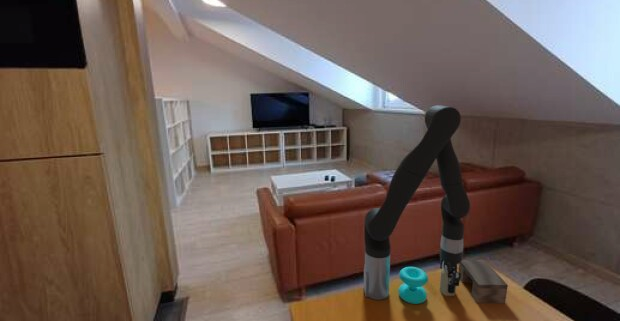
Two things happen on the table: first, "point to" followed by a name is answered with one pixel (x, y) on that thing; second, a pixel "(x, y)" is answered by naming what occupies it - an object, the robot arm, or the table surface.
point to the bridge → (483, 281)
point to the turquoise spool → (413, 285)
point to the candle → (445, 283)
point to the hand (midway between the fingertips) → (447, 287)
